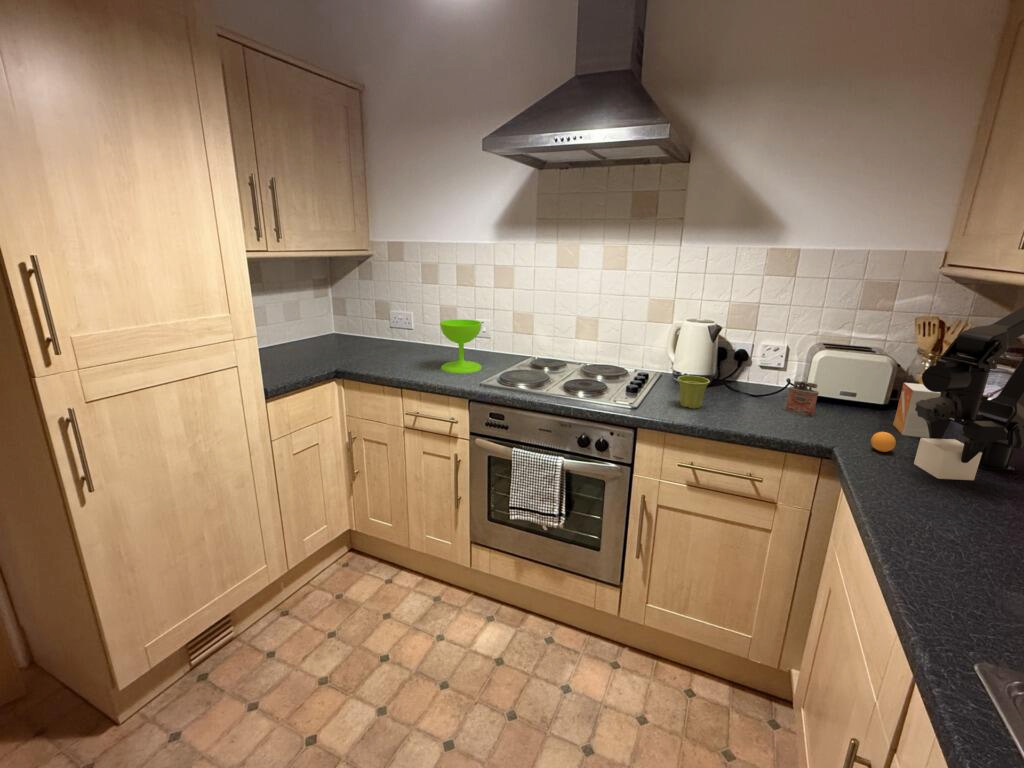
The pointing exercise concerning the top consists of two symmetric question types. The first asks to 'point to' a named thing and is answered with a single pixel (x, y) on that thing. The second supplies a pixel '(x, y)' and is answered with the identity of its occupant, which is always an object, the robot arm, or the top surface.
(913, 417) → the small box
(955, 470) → the cream cube
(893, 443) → the ball
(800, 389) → the lighter
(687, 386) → the plant pot
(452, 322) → the wineglass
